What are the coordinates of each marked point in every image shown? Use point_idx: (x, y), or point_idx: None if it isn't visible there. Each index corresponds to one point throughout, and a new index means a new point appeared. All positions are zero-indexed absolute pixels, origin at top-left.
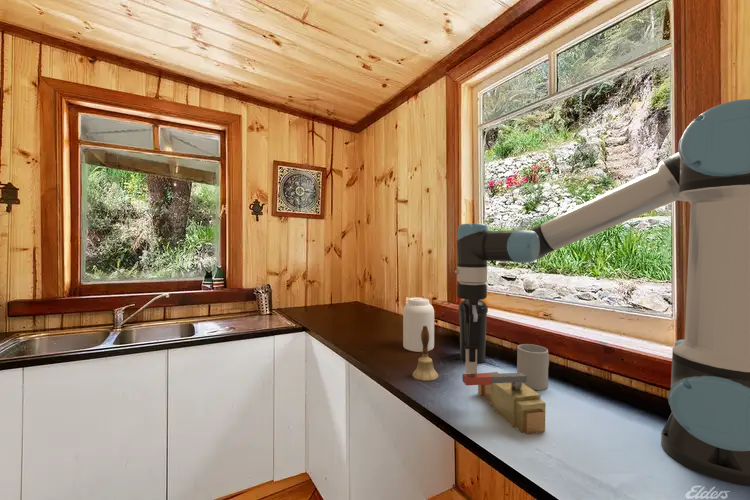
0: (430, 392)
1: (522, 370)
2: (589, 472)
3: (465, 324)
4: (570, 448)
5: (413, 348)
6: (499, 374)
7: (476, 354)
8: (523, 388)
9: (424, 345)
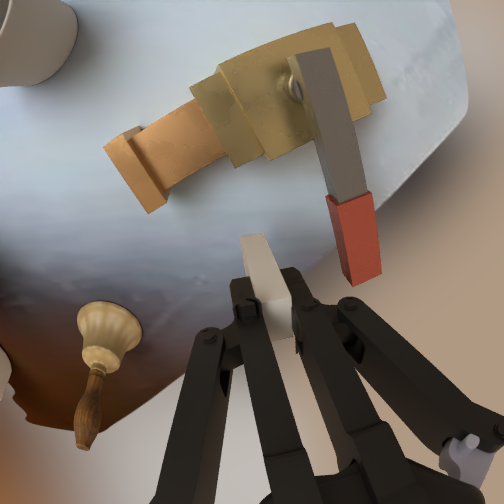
0: (198, 304)
1: (36, 61)
2: (430, 28)
3: (221, 445)
4: (378, 18)
5: (7, 364)
6: (337, 159)
7: (282, 280)
8: None
9: (99, 397)
